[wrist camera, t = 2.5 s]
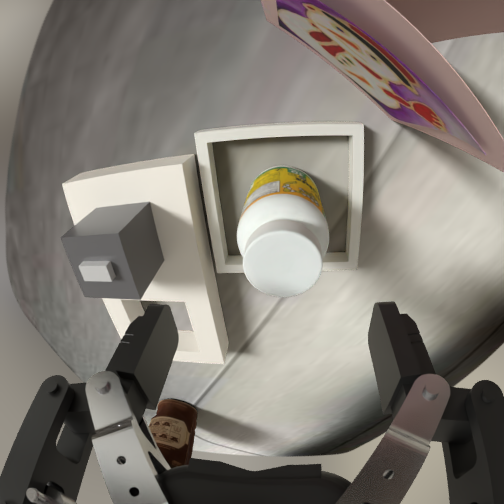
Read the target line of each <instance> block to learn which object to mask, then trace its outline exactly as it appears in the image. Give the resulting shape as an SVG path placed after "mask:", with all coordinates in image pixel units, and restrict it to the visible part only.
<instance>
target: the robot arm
mask: <svg viewBox="0 0 504 504" xmlns="http://www.w3.org/2000/svg"><path fill="white" fill-rule="evenodd" d="M419 333H420V332H419V330H418V328H417V325H416V323H415V322H414V321H413V320H412V319H411V318H410V317H409V316H408V315H407V314H400V313H399V311H398V308H397V306H396V303H395V302H378V303H375V305H374V308H373V313H372V318H371V323H370V327H369V332H368V344H369V349H370V354H371V358H372V362H373V367H374V371H375V376H376V380H377V385H378V390H379V395H380V400H381V405H382V411H383V415H384V414H391V413H392V415H393V422H392V424H391V426H390V427H389V429H388V430H387V432H386V434H385V435H384V437H383V438H382V440H381V442H380V443H379V445H378V446H377V448H376V450H375V451H374V453H373V454H372V455H371V457H370V458H369V460H368V461H367V463H366V464H365V466H364V467H363V469H362V470H361V471H360V473H359V474H358V475H357V477H356V478H355V479H354V481H353V482H352V483H351V482H349V481H348V480H346V479H344V478H343V477H340V476H338V475H336V474H333V473H329V472H325V471H321V464H310V465H286V466H281V467H276V468H272V469H266V470H261V471H249V470H245V469H242V468H239V467H235V466H232V465H229V464H226V463H223V462H219V461H210V460H202V459H194V458H190V460H189V465H183V466H178V467H175V468H170V466H169V465H168V463H167V462H166V460H165V459H164V457H163V456H162V454H161V452H160V450H159V448H158V446H157V444H156V442H155V440H154V437H153V435H152V433H151V431H150V429H149V426H148V424H147V422H146V419H145V417H144V416H143V414H144V412H145V409H146V408H147V409H152V410H156V407H157V404H158V401H159V398H160V395H161V392H162V389H163V387H164V384H165V381H166V378H167V375H168V372H169V369H170V367H171V364H172V361H173V358H174V355H175V353H176V350H177V347H178V342H179V335H178V331H177V327H176V324H175V321H174V318H173V315H172V312H171V309H170V307H169V305H159V304H150V305H149V306H148V308H147V310H146V311H145V313H144V315H143V316H138V317H137V318H136V319H135V320H134V321H133V322H132V323H130V325H129V327H128V328H127V330H126V332H125V335H124V336H123V338H122V340H121V343H119V345H118V347H117V349H116V351H115V353H114V355H113V357H112V359H111V361H110V362H109V364H108V366H107V368H106V370H105V371H101V372H98V373H96V374H94V375H93V376H91V377H90V379H89V380H88V381H87V383H78V384H69V383H68V381H67V380H66V379H65V378H64V377H63V376H60V375H55V376H52V377H49V378H48V379H46V380H45V381H44V382H43V383H42V385H41V387H40V389H39V391H38V393H37V394H36V396H35V399H34V400H33V403H32V404H31V407H30V409H29V411H28V413H27V415H26V417H25V419H24V421H23V423H22V426H21V428H20V430H19V432H18V434H17V437H16V439H15V441H14V444H13V446H12V448H11V451H10V453H9V456H8V458H7V461H6V463H5V466H4V469H3V471H2V474H1V476H0V504H77V503H76V500H77V496H78V493H79V489H80V486H81V482H82V479H83V476H84V472H85V469H86V465H87V463H88V460H89V456H90V453H91V450H92V447H93V446H94V450H95V453H96V456H97V459H98V463H99V466H100V469H101V472H102V474H103V477H104V480H105V483H106V486H107V489H108V491H109V494H110V496H111V499H112V502H113V504H400V503H401V501H402V499H403V498H404V496H405V495H406V493H407V491H408V490H409V488H410V486H411V485H412V483H413V481H414V479H415V478H416V476H417V474H418V472H419V470H420V468H421V467H422V465H423V463H424V461H425V459H426V457H427V455H428V453H429V450H430V446H429V444H430V442H431V441H437V442H442V446H443V452H444V458H445V465H446V472H447V480H448V489H449V500H450V504H504V396H503V393H502V391H501V389H500V388H499V387H498V385H496V384H495V383H494V382H492V381H489V380H482V381H479V382H477V383H476V384H475V385H474V386H473V388H472V389H464V388H455V387H451V386H449V385H448V383H447V382H446V380H445V379H443V378H442V377H440V376H438V375H436V373H435V371H434V368H433V366H432V363H431V360H430V358H429V355H428V352H427V350H426V347H425V345H424V343H423V340H422V337H421V335H420V334H419ZM63 423H64V424H65V426H64V428H63V431H62V434H61V436H60V439H59V441H58V444H57V446H56V439H57V437H58V434H59V432H60V429H61V427H62V425H63Z"/></svg>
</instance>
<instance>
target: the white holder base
mask: <svg viewBox="0 0 504 504" xmlns="http://www.w3.org/2000/svg"><path fill="white" fill-rule="evenodd" d="M62 185H63V189H64V193H65V196H66V200H67V203H68V206H69V210H70V213H71V216H72V219H73V222H74V225H75V226H74V227H72V228H71V229H70V230H69V231H68V232H67V233H65V234H64V235H63V236H62V237H61V240H62V243H63V246H64V248H65V251H66V253H67V256H68V259H69V261H70V264H71V266H72V268H73V271H74V273H75V276H76V278H77V280H78V283H79V285H80V287H81V290H82V292H83V294H84V296H85V297H93V298H102V299H103V301H104V303H105V305H106V308H107V310H108V312H109V314H110V316H111V319H112V321H113V323H114V325H115V327H116V329H117V331H118V333H119V335H120V337H121V339H122V338H123V336H124V335H125V332H126V330H127V328H128V327H129V325H130V323H132V322H133V321H134V320H135V319H136V318H137V317H138V316H143V315H144V313H145V312H144V310H143V307H142V305H141V302H140V300H144V301H177V302H185V304H186V307H187V311H188V314H189V318H190V321H191V324H192V328H193V331H182V330H177V331H178V335H179V342H178V347H177V350H176V353H175V355H174V358H173V361H183V362H196V363H212V364H225V359H226V354H227V350H228V345H229V341H228V336H227V332H226V327H225V322H224V317H223V312H222V307H221V303H220V298H219V293H218V287H217V282H216V277H215V272H214V267H213V261H212V256H211V251H210V245H209V240H208V234H207V228H206V223H205V217H204V211H203V205H202V199H201V193H200V187H199V181H198V175H197V168H196V162H195V155H194V154H190V155H182V156H174V157H167V158H160V159H153V160H147V161H141V162H135V163H129V164H123V165H118V166H112V167H107V168H102V169H97V170H92V171H87V172H83V173H80V174H78V175H77V176H75V177H73V178H72V179H70V180H68V181H66V182H65V183H63V184H62Z"/></svg>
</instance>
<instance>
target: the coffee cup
mask: <svg viewBox="0 0 504 504" xmlns="http://www.w3.org/2000/svg"><path fill="white" fill-rule="evenodd" d="M156 414H157V415H156V416H154V417H153V418H152V419H151V422H150V424H149V429H150V431H151V433H152V435H153V437H154V440H155V442H156V444H157V446H158V448H159V450H160V452H161V454H162V456H163V457H164V459H165V460H166V462H167V463H168V465H169V466H170V468H175V467H178V466H183V465H189V460H190V458H191V455H192V450H193V443H194V436H195V429H196V424H197V422H196V420H197V411H196V409H195V408H194V407H192V406H190V405H189V404H187V403H184V402H181V401H177V400H173V399H165V400H162V401H159V404H158V410H157V413H156Z"/></svg>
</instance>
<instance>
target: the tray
mask: <svg viewBox="0 0 504 504" xmlns="http://www.w3.org/2000/svg"><path fill="white" fill-rule="evenodd" d="M194 135H195V142H196V149H197V155H198V162H199V169H200V175H201V181H202V188H203V194H204V200H205V206H206V212H207V218H208V224H209V230H210V236H211V241H212V247H213V253H214V258H215V264H216V269H217V273H244V269H243V257H242V255H228V250H227V244H226V237H225V230H224V224H223V217H222V210H221V203H220V196H219V189H218V182H217V175H216V168H215V160H214V153H213V145H212V142H218V141H228V140H239V139H252V138H267V137H285V136H318V135H349V188H348V218H347V238H346V252H334V253H326V254H325V256H324V258H323V259H322V260H323V267H322V271H332V270H357V266H358V256H359V245H360V233H361V219H362V202H363V177H364V124H362V123H360V122H288V123H269V124H254V125H242V126H231V127H222V128H213V129H205V130H199V131H197V132H196V133H194Z"/></svg>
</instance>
